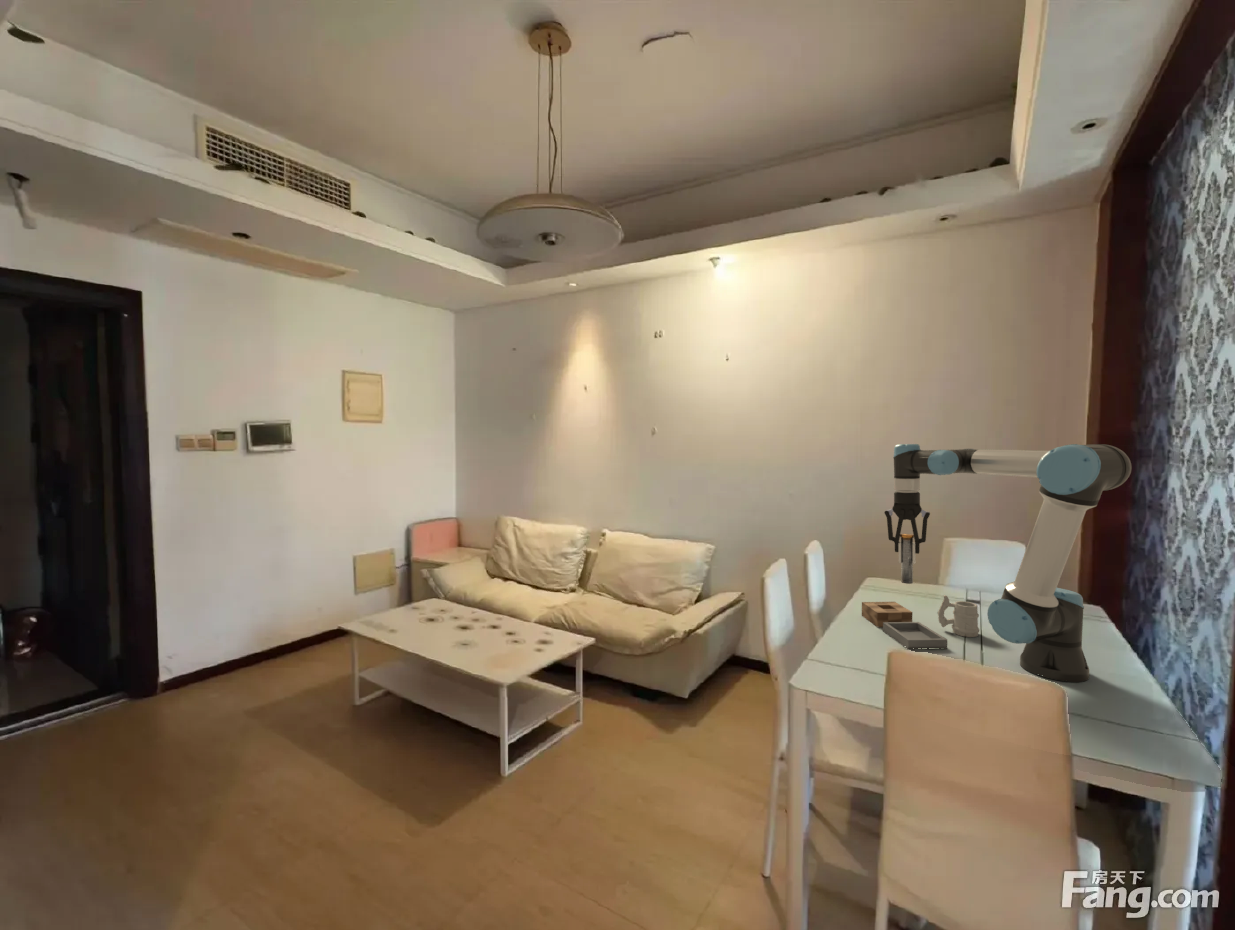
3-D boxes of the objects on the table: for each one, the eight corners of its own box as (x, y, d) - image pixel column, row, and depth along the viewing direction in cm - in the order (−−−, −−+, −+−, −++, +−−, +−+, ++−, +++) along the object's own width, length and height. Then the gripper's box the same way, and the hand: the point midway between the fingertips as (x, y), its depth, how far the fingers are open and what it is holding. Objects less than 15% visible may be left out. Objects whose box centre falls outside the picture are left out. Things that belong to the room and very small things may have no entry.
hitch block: (912, 626, 190) (912, 612, 190) (877, 627, 190) (877, 612, 190) (894, 615, 202) (894, 601, 202) (861, 615, 202) (861, 602, 202)
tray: (947, 649, 170) (947, 639, 170) (908, 649, 170) (908, 640, 170) (918, 630, 186) (918, 621, 186) (882, 631, 186) (883, 622, 186)
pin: (914, 581, 183) (914, 534, 182) (913, 584, 180) (913, 536, 179) (900, 580, 185) (900, 533, 184) (899, 583, 182) (899, 535, 181)
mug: (980, 639, 178) (981, 602, 177) (937, 633, 184) (938, 597, 183) (977, 631, 185) (978, 596, 184) (936, 626, 190) (937, 591, 190)
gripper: (936, 491, 180) (936, 562, 181) (880, 489, 189) (880, 558, 189) (935, 492, 174) (935, 567, 175) (877, 491, 182) (878, 562, 183)
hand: (907, 562), depth 182 cm, fingers closed on pin, 3 cm apart
